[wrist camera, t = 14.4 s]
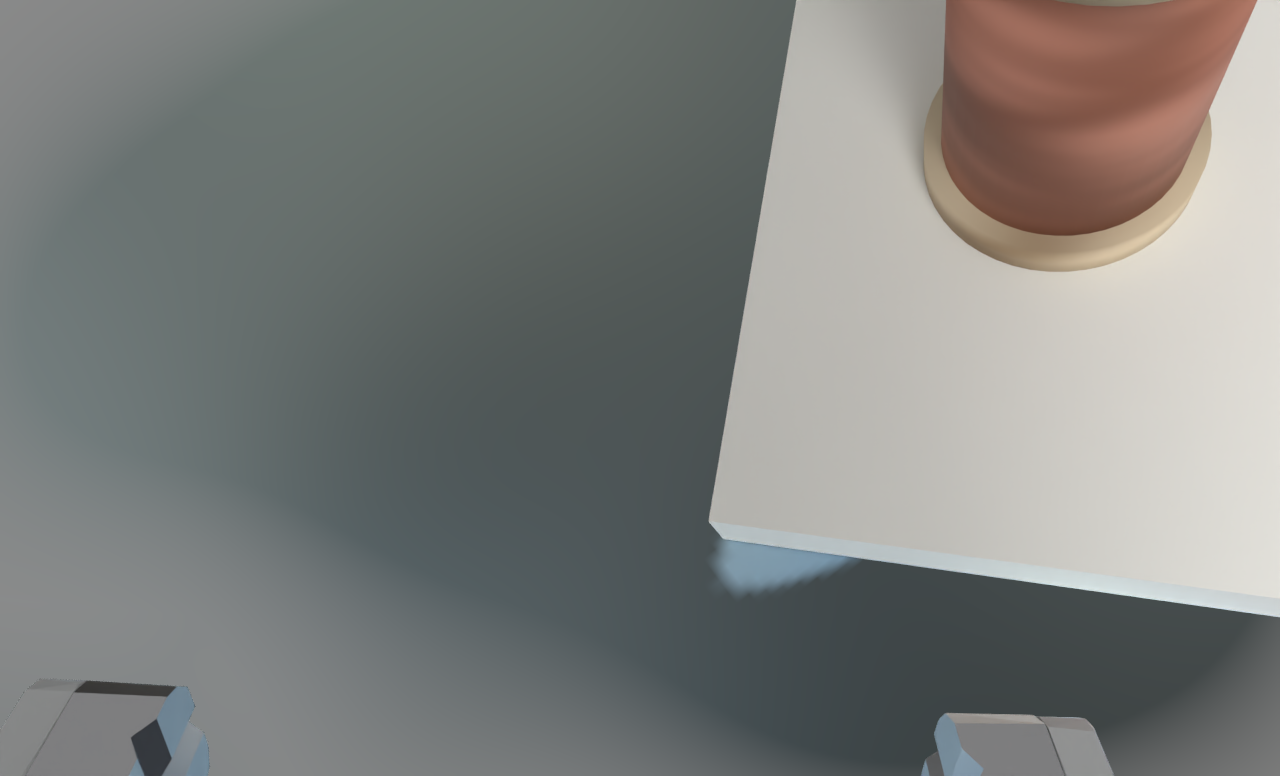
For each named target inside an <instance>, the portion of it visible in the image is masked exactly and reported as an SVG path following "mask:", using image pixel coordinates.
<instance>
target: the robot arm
mask: <svg viewBox="0 0 1280 776" xmlns="http://www.w3.org/2000/svg"><path fill="white" fill-rule="evenodd" d="M194 708H195V704H194V702H193V699H192V697H191V694H190V692H189V689H188V687H185V686H168V685H167V686H166V685H151V684H134V683H117V682H100V681H85V680H62V679H39V680H38V681H36V682H35V683H34V684H33V685H32V686H31V687H29V688H28V689H27V690H26V691H25V692H24V693H23V694H22V696H21V697H20V699H19V700H18V702H17V704H16V705H15V707H14V709H13V710H12V712H11V713H10V715H9V716H8V718H7V719H6V721H5V723H4V724H3V726H2V727H1V729H0V776H208V772H209V767H210V765H209V747H208V744H207V741H206V737H205V734H204V732H203V731H201V730H200V729H199V728H197V727H196V726H195V725H193V724H192V723H190V722H189V719H190V717H191V715H192V712H193V710H194ZM934 736H935V740H936V744H937V747H938V751H937V752H935V753H934V754H932V755H931V756H929V757H928V758H927V759H926V760H925V763H924V767H923V770H922V774H921V776H1114V774H1113V771H1112V769H1111V767H1110V765H1109V762H1108V760H1107V757H1106V755H1105V753H1104V750H1103V748H1102V746H1101V743H1100V741H1099V739H1098V736H1097V734H1096V732H1095V729H1094V727H1093V726H1092V725H1091V724H1090V723H1089V722H1088V721H1087V720H1086V719H1084V718H1075V717H1035V716H1034V715H1011V714H1010V715H1008V714H964V713H963V714H962V713H945V714H944V715H943V716H942V717H941V718H940V719H939V721H938V723H937V726H936V729H935V732H934Z"/></svg>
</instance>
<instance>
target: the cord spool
mask: <svg viewBox="0 0 1280 776" xmlns="http://www.w3.org/2000/svg"><path fill="white" fill-rule="evenodd" d="M1256 2H1257V0H946V15H945V43H944V72H943V84H942V85H941V86H940V88H939V89H938V91H937V93H936V95H935V97H934V99H933V101H932V103H931V106H930V109H929V111H928V114H927V118H926V123H925V128H924V166H923V167H924V175H925V182H926V186H927V189H928V193H929V196H930V198H931V200H932V202H933V204H934V207H935V209H936V210H937V212H938V213H939V215H940V216H941V218H942V219H943V221H944V222H945V223H946V224H947V225H948V226H949V228H950V229H951V230H952V231H953V232H954V233H955V234H956V235H957V236H959V237H960V238H961V239H962V240H963V241H964V242H966V243H967V244H968V245H970V246H971V247H973V248H975V249H976V250H978V251H979V252H981V253H983V254H985V255H987V256H989V257H991V258H993V259H995V260H998V261H1001V262H1003V263H1006V264H1009V265H1012V266H1016V267H1021V268H1025V269H1029V270H1038V271H1047V272H1070V271H1079V270H1087V269H1092V268H1096V267H1101V266H1105V265H1108V264H1111V263H1114V262H1117V261H1119V260H1122V259H1124V258H1126V257H1129V256H1131V255H1133V254H1135V253H1137V252H1139V251H1140V250H1142V249H1144V248H1145V247H1147V246H1148V245H1150V244H1151V243H1153V242H1154V241H1156V240H1157V239H1158V238H1159V237H1160V236H1161V235H1163V234H1164V233H1165V232H1166V231H1167V230H1168V229H1169V228H1170V227H1171V226H1172V225H1173V224H1174V223H1175V221H1176V220H1177V219H1178V218H1179V217H1180V215H1181V214H1182V212H1183V211H1184V209H1185V208H1186V206H1187V205H1188V203H1189V201H1190V199H1191V197H1192V195H1193V192H1194V190H1195V188H1196V186H1197V184H1198V182H1199V180H1200V178H1201V175H1202V173H1203V171H1204V169H1205V167H1206V164H1207V160H1208V157H1209V153H1210V148H1211V138H1212V130H1211V118H1210V114H1209V109H1210V107H1211V105H1212V102H1213V100H1214V98H1215V96H1216V93H1217V91H1218V89H1219V87H1220V84H1221V82H1222V80H1223V77H1224V75H1225V73H1226V71H1227V68H1228V66H1229V64H1230V62H1231V59H1232V57H1233V55H1234V52H1235V50H1236V48H1237V46H1238V43H1239V41H1240V39H1241V37H1242V34H1243V32H1244V30H1245V27H1246V25H1247V23H1248V21H1249V18H1250V16H1251V14H1252V12H1253V9H1254V7H1255V5H1256Z"/></svg>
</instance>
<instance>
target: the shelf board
mask: <svg viewBox="0 0 1280 776" xmlns="http://www.w3.org/2000/svg"><path fill="white" fill-rule="evenodd" d="M945 15H946V0H796V6H795V12H794V18H793V23H792V30H791V36H790V41H789V47H788V53H787V59H786V65H785V71H784V77H783V83H782V89H781V95H780V101H779V106H778V112H777V118H776V125H775V130H774V136H773V142H772V148H771V154H770V160H769V166H768V172H767V177H766V184H765V189H764V196H763V201H762V207H761V213H760V219H759V225H758V231H757V237H756V243H755V249H754V255H753V260H752V266H751V272H750V278H749V284H748V290H747V296H746V302H745V308H744V314H743V320H742V325H741V331H740V338H739V343H738V349H737V355H736V361H735V367H734V373H733V379H732V385H731V391H730V397H729V403H728V409H727V415H726V421H725V426H724V433H723V438H722V444H721V450H720V456H719V462H718V468H717V474H716V479H715V486H714V492H713V497H712V504H711V509H710V515H709V522H710V524H711V525H712V526H713V527H714V528H715V530H716V531H717V532H718V533H719V534H720V536H721V537H722V538H723V539H727V540H734V541H741V542H748V543H755V544H762V545H769V546H776V547H784V548H791V549H798V550H805V551H812V552H819V553H826V554H834V555H841V556H848V557H855V558H862V559H869V560H877V561H883V562H891V563H898V564H905V565H913V566H919V567H926V568H933V569H941V570H948V571H956V572H962V573H970V574H977V575H984V576H991V577H998V578H1005V579H1013V580H1019V581H1026V582H1034V583H1041V584H1048V585H1055V586H1062V587H1069V588H1076V589H1084V590H1091V591H1097V592H1105V593H1112V594H1119V595H1126V596H1134V597H1140V598H1147V599H1155V600H1162V601H1169V602H1176V603H1184V604H1190V605H1197V606H1204V607H1212V608H1219V609H1227V610H1233V611H1240V612H1247V613H1255V614H1262V615H1269V616H1276V617H1280V0H1257V2H1256V5H1255V7H1254V9H1253V12H1252V14H1251V16H1250V18H1249V21H1248V23H1247V25H1246V27H1245V30H1244V32H1243V34H1242V37H1241V39H1240V41H1239V43H1238V46H1237V48H1236V50H1235V52H1234V55H1233V57H1232V59H1231V62H1230V64H1229V66H1228V68H1227V71H1226V73H1225V75H1224V77H1223V80H1222V82H1221V84H1220V87H1219V89H1218V91H1217V93H1216V96H1215V98H1214V100H1213V102H1212V105H1211V107H1210V109H1209V114H1210V118H1211V130H1212V138H1211V148H1210V153H1209V157H1208V160H1207V164H1206V167H1205V169H1204V171H1203V173H1202V175H1201V178H1200V180H1199V182H1198V184H1197V186H1196V188H1195V190H1194V192H1193V195H1192V197H1191V199H1190V201H1189V203H1188V205H1187V206H1186V208H1185V209H1184V211H1183V212H1182V214H1181V215H1180V217H1179V218H1178V219H1177V220H1176V221H1175V223H1174V224H1173V225H1172V226H1171V227H1170V228H1169V229H1168V230H1167V231H1166V232H1165V233H1164V234H1163V235H1161V236H1160V237H1159V238H1158V239H1157V240H1156V241H1154V242H1153V243H1151V244H1150V245H1148V246H1147V247H1145V248H1144V249H1142V250H1140V251H1139V252H1137V253H1135V254H1133V255H1131V256H1129V257H1126V258H1124V259H1122V260H1119V261H1117V262H1114V263H1111V264H1108V265H1105V266H1101V267H1096V268H1092V269H1087V270H1079V271H1070V272H1047V271H1038V270H1029V269H1025V268H1021V267H1016V266H1012V265H1009V264H1006V263H1003V262H1001V261H998V260H995V259H993V258H991V257H989V256H987V255H985V254H983V253H981V252H979V251H978V250H976V249H975V248H973V247H971V246H970V245H968V244H967V243H966V242H964V241H963V240H962V239H961V238H960V237H959V236H957V235H956V234H955V233H954V232H953V231H952V230H951V229H950V228H949V226H948V225H947V224H946V223H945V222H944V221H943V219H942V218H941V216H940V215H939V213H938V212H937V210H936V209H935V207H934V204H933V202H932V200H931V198H930V196H929V193H928V189H927V186H926V182H925V175H924V167H923V166H924V128H925V123H926V118H927V114H928V111H929V109H930V106H931V103H932V101H933V99H934V97H935V95H936V93H937V91H938V89H939V88H940V86H941V85H942V84H943V72H944V43H945Z"/></svg>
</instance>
